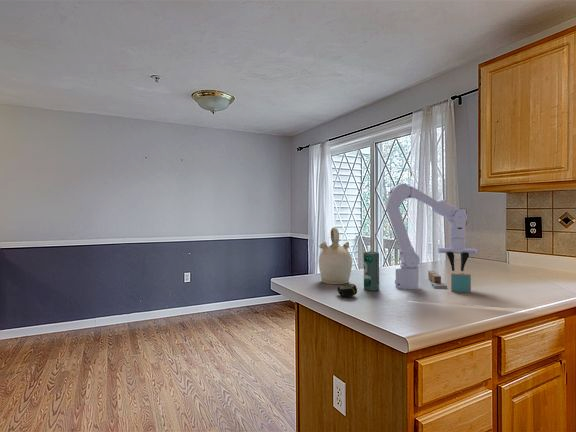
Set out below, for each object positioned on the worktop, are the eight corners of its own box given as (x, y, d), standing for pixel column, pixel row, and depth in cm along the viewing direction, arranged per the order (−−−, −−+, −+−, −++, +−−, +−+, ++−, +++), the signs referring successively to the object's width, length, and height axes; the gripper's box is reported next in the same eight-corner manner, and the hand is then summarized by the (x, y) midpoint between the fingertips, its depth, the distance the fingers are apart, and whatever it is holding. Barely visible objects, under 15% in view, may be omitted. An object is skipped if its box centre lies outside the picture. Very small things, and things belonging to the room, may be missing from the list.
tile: (451, 291, 136) (451, 273, 136) (450, 290, 139) (450, 272, 139) (470, 292, 134) (470, 274, 134) (469, 291, 136) (469, 273, 136)
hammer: (425, 279, 161) (425, 270, 161) (437, 279, 160) (436, 270, 160) (434, 288, 142) (434, 278, 142) (447, 288, 141) (447, 279, 141)
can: (363, 287, 146) (363, 251, 146) (378, 287, 145) (377, 251, 145) (364, 290, 140) (364, 253, 140) (379, 290, 139) (379, 253, 139)
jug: (317, 285, 151) (316, 228, 150) (320, 278, 166) (319, 226, 166) (352, 286, 148) (352, 228, 148) (352, 278, 164) (351, 226, 163)
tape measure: (355, 290, 134) (353, 281, 133) (359, 296, 127) (357, 286, 127) (338, 294, 134) (336, 285, 133) (341, 300, 127) (339, 291, 126)
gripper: (439, 238, 141) (439, 271, 141) (479, 239, 137) (479, 273, 137) (437, 237, 148) (437, 268, 148) (475, 237, 143) (475, 270, 144)
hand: (457, 270), depth 143 cm, fingers open, 3 cm apart
